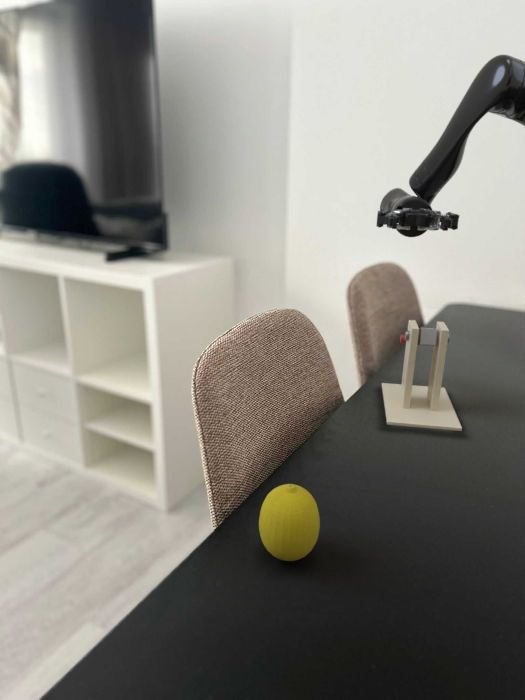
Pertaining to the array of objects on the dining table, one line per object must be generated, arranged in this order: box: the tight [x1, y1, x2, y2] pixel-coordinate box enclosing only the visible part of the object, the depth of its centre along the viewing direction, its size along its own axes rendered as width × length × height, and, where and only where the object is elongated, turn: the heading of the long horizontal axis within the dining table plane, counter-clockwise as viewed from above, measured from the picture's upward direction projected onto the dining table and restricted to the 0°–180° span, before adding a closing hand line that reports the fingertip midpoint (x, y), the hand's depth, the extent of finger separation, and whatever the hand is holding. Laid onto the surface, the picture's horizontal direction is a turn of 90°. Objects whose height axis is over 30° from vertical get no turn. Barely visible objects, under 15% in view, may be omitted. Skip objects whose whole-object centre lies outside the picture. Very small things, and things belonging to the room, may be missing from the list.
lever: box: [399, 327, 437, 347], centre depth 78 cm, size 12×5×2 cm, turn 170°
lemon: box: [258, 483, 321, 562], centre depth 47 cm, size 6×6×8 cm
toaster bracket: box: [381, 319, 463, 432], centre depth 75 cm, size 14×10×14 cm
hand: (420, 223), depth 88 cm, fingers open, 8 cm apart
